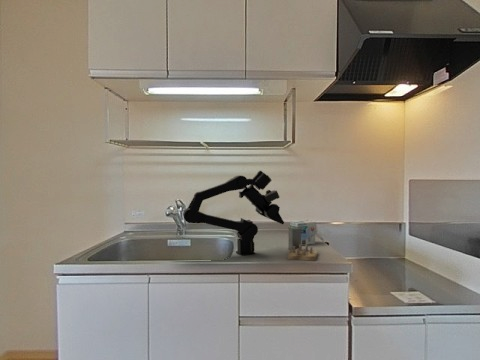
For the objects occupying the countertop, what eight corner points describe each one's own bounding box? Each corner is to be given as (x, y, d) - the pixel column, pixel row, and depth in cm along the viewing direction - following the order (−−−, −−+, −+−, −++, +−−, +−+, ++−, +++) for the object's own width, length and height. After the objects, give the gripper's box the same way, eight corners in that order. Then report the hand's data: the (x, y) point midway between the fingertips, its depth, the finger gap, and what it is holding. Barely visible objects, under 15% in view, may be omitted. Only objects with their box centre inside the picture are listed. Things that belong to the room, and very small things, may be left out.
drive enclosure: (292, 251, 161) (292, 229, 161) (288, 249, 166) (288, 227, 166) (301, 251, 162) (301, 228, 162) (296, 249, 167) (296, 227, 167)
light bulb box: (297, 246, 174) (297, 223, 173) (289, 243, 180) (289, 221, 180) (315, 243, 178) (315, 221, 178) (307, 241, 184) (307, 220, 184)
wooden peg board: (287, 259, 148) (287, 249, 148) (291, 252, 160) (291, 243, 160) (315, 260, 145) (315, 250, 145) (317, 253, 157) (317, 244, 157)
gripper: (274, 185, 151) (300, 211, 154) (262, 183, 170) (285, 206, 172) (256, 204, 150) (282, 230, 153) (245, 201, 168) (269, 224, 171)
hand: (279, 222), depth 162 cm, fingers open, 9 cm apart
